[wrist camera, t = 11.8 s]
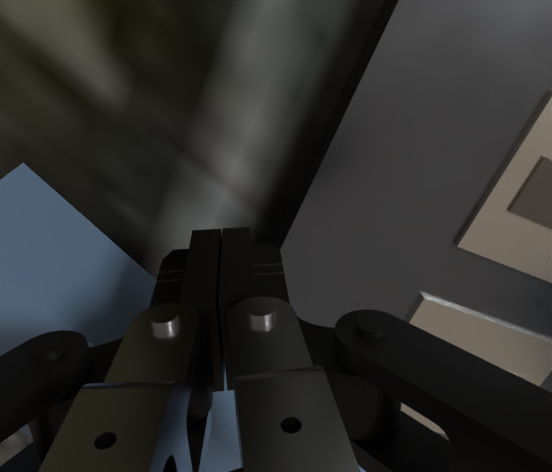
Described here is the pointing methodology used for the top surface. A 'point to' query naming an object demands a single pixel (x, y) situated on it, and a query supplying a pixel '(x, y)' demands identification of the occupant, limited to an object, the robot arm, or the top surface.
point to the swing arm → (79, 288)
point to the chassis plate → (437, 184)
